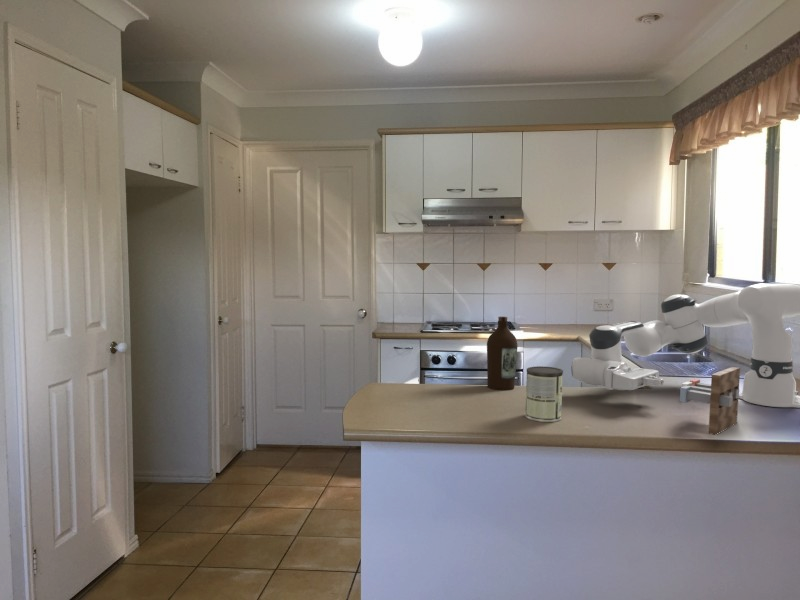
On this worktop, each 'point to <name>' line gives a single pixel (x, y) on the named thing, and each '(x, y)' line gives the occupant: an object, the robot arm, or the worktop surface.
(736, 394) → the brick-red plunger
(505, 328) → the olive oil
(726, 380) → the walnut panel
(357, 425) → the worktop surface
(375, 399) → the worktop surface
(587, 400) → the worktop surface
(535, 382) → the coffee can
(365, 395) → the worktop surface
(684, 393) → the blue-capped grey rod
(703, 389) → the off-white plunger
